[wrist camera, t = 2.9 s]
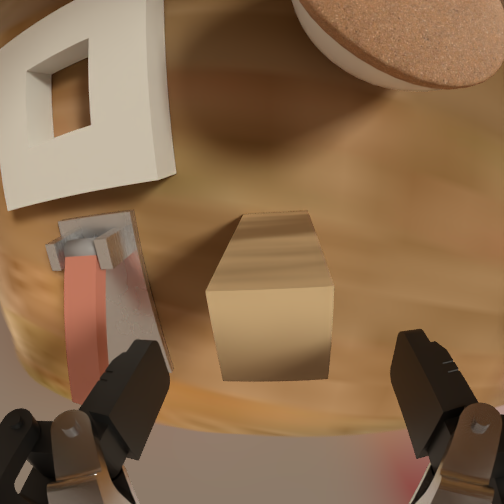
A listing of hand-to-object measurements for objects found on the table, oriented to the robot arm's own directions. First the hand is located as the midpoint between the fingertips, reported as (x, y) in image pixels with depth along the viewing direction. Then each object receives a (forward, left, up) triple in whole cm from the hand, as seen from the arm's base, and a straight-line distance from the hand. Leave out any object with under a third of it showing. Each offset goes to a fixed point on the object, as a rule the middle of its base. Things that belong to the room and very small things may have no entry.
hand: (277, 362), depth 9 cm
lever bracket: (+4, -13, -11) cm, 17 cm away
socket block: (-12, -13, -11) cm, 21 cm away
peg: (0, 0, -11) cm, 11 cm away
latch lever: (+3, -13, -7) cm, 15 cm away
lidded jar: (-14, +7, -11) cm, 19 cm away
